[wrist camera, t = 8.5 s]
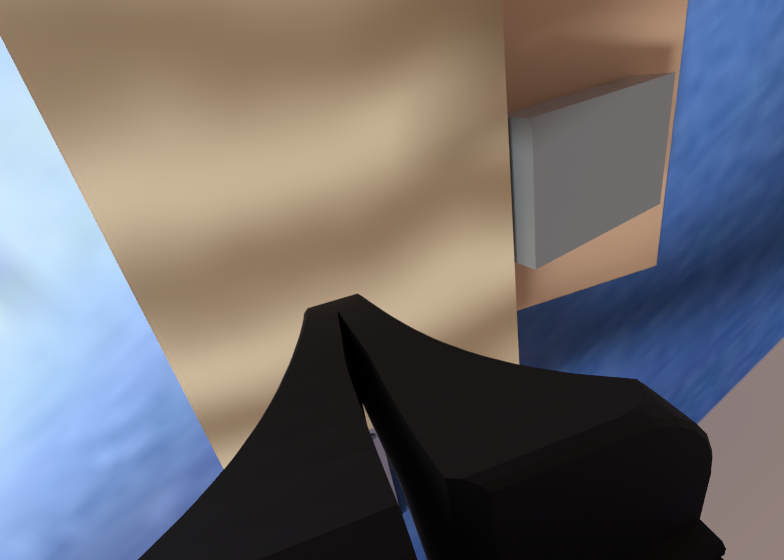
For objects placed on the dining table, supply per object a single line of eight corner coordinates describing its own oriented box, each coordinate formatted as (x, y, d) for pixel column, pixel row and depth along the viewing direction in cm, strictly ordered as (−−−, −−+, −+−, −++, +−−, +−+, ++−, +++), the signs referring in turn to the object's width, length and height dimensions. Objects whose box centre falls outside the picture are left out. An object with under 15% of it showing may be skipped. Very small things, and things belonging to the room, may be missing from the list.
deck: (481, 334, 24) (519, 375, 21) (232, 416, 22) (229, 479, 18) (445, -55, 16) (497, -93, 13) (42, 5, 14) (-30, -22, 10)
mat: (652, 263, 26) (656, 265, 26) (488, 316, 24) (491, 319, 24) (689, -63, 19) (696, -65, 19) (459, -25, 17) (463, -27, 17)
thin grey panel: (621, 197, 23) (660, 203, 21) (500, 257, 19) (535, 269, 18) (630, 75, 20) (675, 72, 19) (491, 117, 17) (532, 117, 15)
